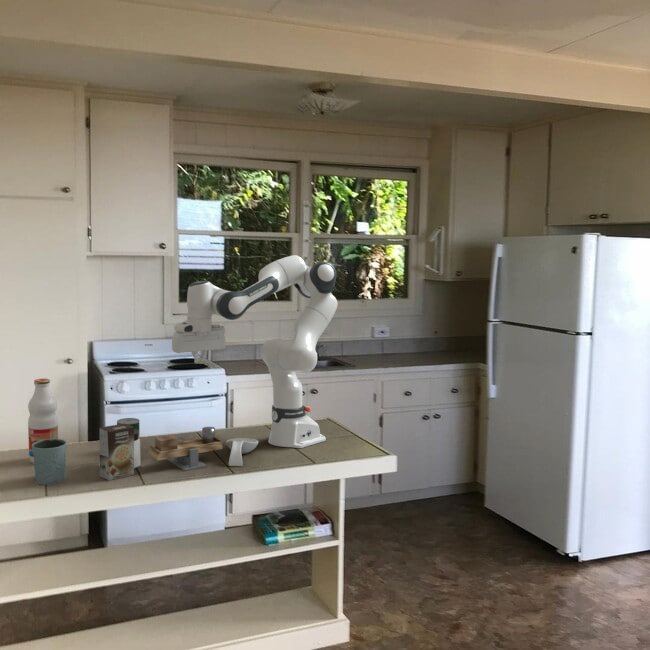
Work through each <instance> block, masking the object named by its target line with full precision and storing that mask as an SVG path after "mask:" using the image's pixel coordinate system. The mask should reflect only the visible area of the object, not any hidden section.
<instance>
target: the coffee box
mask: <svg viewBox="0 0 650 650" xmlns="http://www.w3.org/2000/svg"><path fill="white" fill-rule="evenodd" d="M133 475H135V468H134V427H133V426H131V425H128V424H118V425H117V424H113V425H112V424H111V425H107V426H101V427H99V476H100V477H101V478H103V479H105V480H107V481H113V480H117V479H121V478H126V477H129V476H133Z"/></svg>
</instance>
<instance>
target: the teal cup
mask: <svg viewBox="0 0 650 650" xmlns="http://www.w3.org/2000/svg"><path fill="white" fill-rule="evenodd" d="M32 450H33V457H34V463H33V465H34V476H35V482H36V483H37V484H39V485H46V486H47V485H55V484H59V483H61V482H64V480H65V479H66V460H67V459H66V457H67V456H66V455H67V454H66V453H67V441H66V440H64V439H61V438H58V439H44V440H40V441H37V442H35V443H33V444H32Z"/></svg>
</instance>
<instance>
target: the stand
mask: <svg viewBox="0 0 650 650" xmlns="http://www.w3.org/2000/svg"><path fill="white" fill-rule="evenodd" d="M179 442H184V440H183V439H181V440H178V443H179ZM166 461H168V462H170V463H171V464H173V465H174V466H176V467H178V468H179V469H181V470H182V471H184V472H187V471H191V470H192V471H193V470H196V469H202V468H206V467H207V464H205V463H204V462H202V461H201V460H199V453H198V449H197V448H195V449H190V450H189V455H186V456H180V457H175V458H169V459H166Z"/></svg>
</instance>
